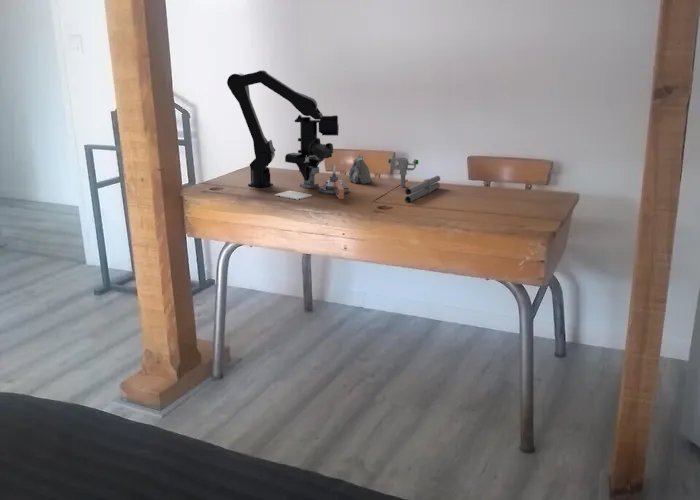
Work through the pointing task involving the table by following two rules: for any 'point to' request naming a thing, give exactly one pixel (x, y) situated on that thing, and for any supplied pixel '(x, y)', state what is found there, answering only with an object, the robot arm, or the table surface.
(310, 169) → the grey stepped block
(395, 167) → the mechanical component
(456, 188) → the table surface
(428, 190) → the metal rod assembly
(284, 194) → the mat
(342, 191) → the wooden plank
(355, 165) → the mineral rock
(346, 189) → the chuck base
